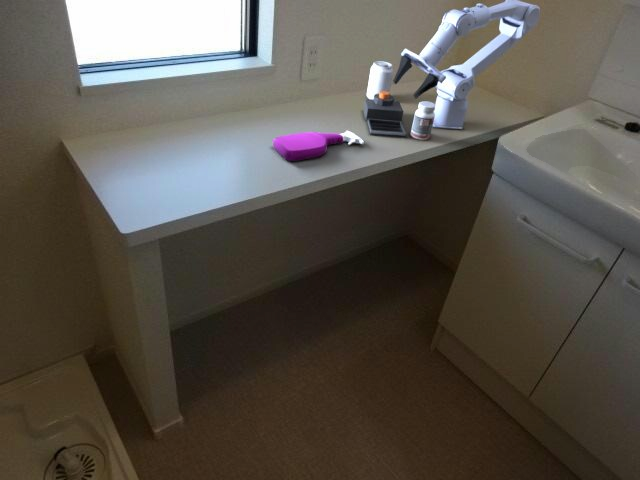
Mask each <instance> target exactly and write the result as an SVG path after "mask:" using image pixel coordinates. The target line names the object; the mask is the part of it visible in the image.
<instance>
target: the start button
mask: <svg viewBox="0 0 640 480" xmlns="http://www.w3.org/2000/svg"><path fill="white" fill-rule="evenodd" d="M390 95H391V93H390V91H389V92H387V91H380V93H379V98H381V99H389V96H390Z"/></svg>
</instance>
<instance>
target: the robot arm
mask: <svg viewBox="0 0 640 480" xmlns="http://www.w3.org/2000/svg"><path fill="white" fill-rule="evenodd" d="M540 16H541V8H540V6H539V5H537V4H531V3H528V2H525V1H521V0H504V1H503V2H501V3H498V4H495V5H492V6H489V7H488V6H487V5H485V4H484V3H480V2H479V3H476V6H472V7H464V8H463V9H461V10H458V9H456V8H454V9H451V10H449V11H448V12H445V13H444V15H443V17H442V20H441V24H440V25H439V26H438V29H437V31H436V33H435V34H434V35H433V36H432V38H431V39H430V40H429V41H428V43H427V44H426V45H425V47H424V48H423V49H422V50H421V52H420V53H419V55H418V54H417V53H416V52H415V53H414V52H413V51H411V50H409V49H407V48H404V49H403V51H402V52H401V53H400V54H401V57H400V61H399V65H398V68H397V71H396V72H395V73H396V74H395V76H394V78H392V79H393V80H392V82H393V84H394V85H397V84H398V83H399V82H400V81H401V79H402V77H403V76H405V74H406V73H407V72H408V71H409V70H410V69H411V68H413V65H415V66H416V67H418V68H419V69H420V70H422V71H423V72H425V73H426V74H427V76H426V77H425V79H424V80H423V82H422V83H421V85H420V86H419V87H418V88H417V90H416V91H415V92H414V94H413V98H414V99H416V100H417V99H418V98H419V97H420V96H422V95H423V94H424V93H426V92H428V91H429V90H431V89H433V88H436V94H437V97H436V100H435V103H434V104H435V110H434V111H433V112H434V114H435V117H434V121H433V125H432V128H437V129H438V128H439V129H450V130H451V129H453V130H463V126H464V122H465V118H466V116H467V115H466V114H467V112H468V105H469V101H468V98H467V96H468V94H469V93H470V92H471V90H472V89H474V88H475V84H476V80H475V78H476V77H478V76H479V75H480V74H481V73H483V72H484V71H485V70H486V69H488V68H489V67H490V66H491V65H492V64H494V63H495V62H496V61H498V59H500V58H501V57H502V56H503V55H505V54H506V53H507V52H508V51H510V50H511V49H512V48H513V47H514V46H516V45H517V44H518V43H519V41H520V40H521V39H522V38H523V37H525V36H526V35H527V34H529V32H531V31H532V30H533V29H534V28H535V27H537V23H538V22H539V19H540ZM495 20H499V26H498V27H499V28H498V30H499V32H500V33H499V34H498V35H497V36H496V37H495V38H494V39H492V40H491V41H489V42H488V43H487V44H486V45H485V46H483V47H482V48H481V49H479V50H478V51H477V52H476V53H475V54H473V55H472V56H471V57H470V58H468V59H467V60H466V61H465V62H464V63H462V64H457V65H451V66H450V67H449V68H447V69H446V68H445V69H443V70H439V69H438V68H436V67H437V66H438V64H439V63H440V62H441V61H442V59H443V58H444V57H445V56H446V54H447V53H448V52H449V51H450V50H451V48H452V47H453V46H454V45H455V43H456V42H457V41H458V39H459V38H460V37H466V36H468V35H469V33H470V32H471V31H473V30H477V29H481V28H484V27H486V26H487V25H488V24H489V23H490V22H491V21H495Z"/></svg>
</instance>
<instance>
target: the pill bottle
mask: <svg viewBox="0 0 640 480" xmlns="http://www.w3.org/2000/svg"><path fill="white" fill-rule="evenodd" d="M435 104H436V103H433V102H431V101H427V100H424V101H423V100H422V101H420V102H418V109H416V110H415V112H414V117H413V122H412V126H411V130H410V136H411V137H412V138H414V139H416V140H420V141H426V140H428V139H430V137H431V133H432V129H433V126H432V125H433V121H434V117H435V114H434V110H435Z"/></svg>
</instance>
